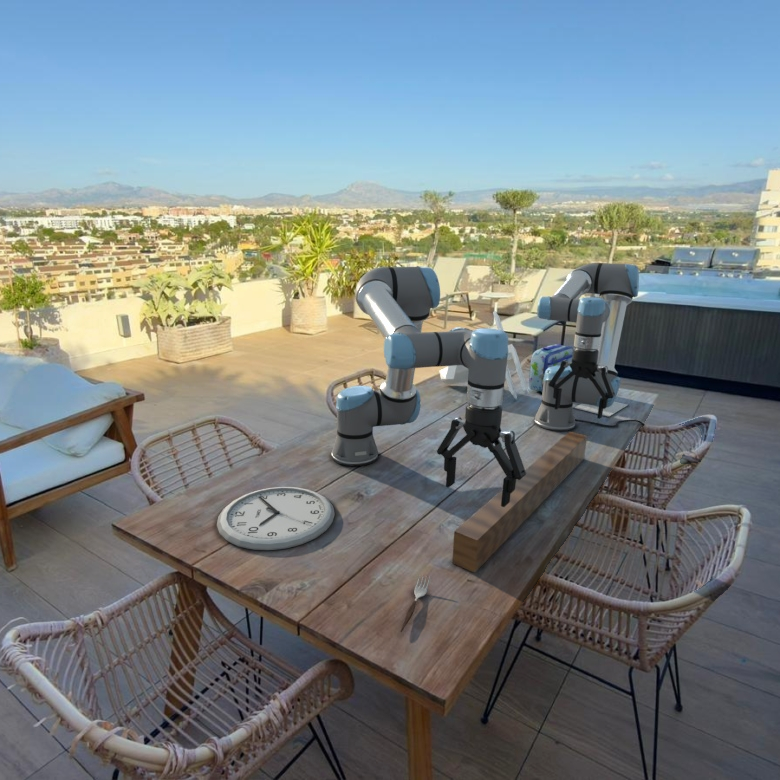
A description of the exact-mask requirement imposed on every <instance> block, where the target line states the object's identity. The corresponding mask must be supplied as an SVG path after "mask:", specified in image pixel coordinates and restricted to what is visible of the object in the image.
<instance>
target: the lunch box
mask: <svg viewBox="0 0 780 780" xmlns="http://www.w3.org/2000/svg"><path fill="white" fill-rule="evenodd" d="M573 349H574V347H572V346H568V345H562V344H551V345H547V346H545V347H541V348H539V349H536V350H534V352H533V353H532V355H531V358H530V359H531V360H530V366H529V377H528V379H529V380H528V387H529V390H531V391H536V392H541V393H542V391H543V382H544V381H543V379H544V375H545V371H546V369H548V368H549V367H553V366H560V365H561V362H562V361H563V360H567V361H569V362H571V361H572V355H573Z"/></svg>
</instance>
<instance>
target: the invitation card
mask: <svg viewBox="0 0 780 780" xmlns="http://www.w3.org/2000/svg"><path fill="white" fill-rule="evenodd" d="M628 406H629V404H627V403H623V402H618V401H614V402H613V404H612V405H611V406H610V407H606V408H605V409H603V414H602V416H604V417H608V418H609V417H611V416H613V415H614V414H616V413H617V412H619V411H621V410H623V409H624V408H626V407H628ZM573 409H575V410H581V411H584V412H587V413H593V414H596V415H598V409H599V407H597V406H593V405H587V404H582V403H579V404H578V405H575V406H574V407H573Z"/></svg>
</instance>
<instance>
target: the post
mask: <svg viewBox="0 0 780 780" xmlns="http://www.w3.org/2000/svg"><path fill="white" fill-rule="evenodd" d="M587 439H588V435H585V434H582V433H578V432H577V433H576V432H573V431H568V432H567V433H566V434H565V435H564V436H563V437H562V438H560V439H559V440H558V441H557V442H556V443H555V444H553V445H551V447H550V448H548V449H547V451H545V452H544V453H543V454H542V455H541V456H540V457H538V458H537V459H536V460H535V461H533V462H532V464H530V465H529V466H528V467H527V468H525V472H526V475H525V476H524V477H523V478H521V479H520V480H518V479H516V485H515V490H514V491H513V492H512V493H511V494H510V502H509V503H508V504H507V505H506V506H505V507H502V506H501V500H502V490H503V489H501V490H500V491H499V492H498V493H496V495H494V496H493V497H492V498H491V499H490V500H488V501H487V502H486V503H485V504H484V505H483V506H481V508H479V509H478V510H477V511H476V512H475V513H473V514H472V515H471V516H470V517H469V518H467V520H465V521H464V522H463V523H462V524H461V525H460V526H458V527H457V528H456V529H455V530H454V531H453V544H452V560H451V563H452V564H453V565H456V566H458V567H460V568H462V569H464V570H467V571H469V572H472V573H474V574H476V572H477V571H479V569H480V568H481V567H482V566H483V565H484V564H485V563H486V562H487V561H488V560H489V559H490V558H491V557H492V556H493V554H495V553H496V552H497V550H499V548H501V546H502V545H503V544H504V543H505V542H506V541H508V539H509V538H510V537H511V536H512V535H513V534H514V533H515V532H516V531H517V530H518V528H520V526H521V525H522V524H523V523H524V522H526V520H527V519H528V518H530V516H531V515H532V514H533V513H534V512H535V511H536V510H537V509H538V508H539V506H541V504H543V502H545V500H546V499H547V498H548V497H550V495H551V494H552V493H553V492H554V491H555V490H556V489H557V488H558V487H559V485H560V484H562V483H563V482H564V480H565V479H566V478H567V477H568V476H569V475H570V474H572V472H573V471H574V470H575V469H576V468H577V467H578V466H579V465H580V464H581V463H582V462H583V461H584V460H585V453H586V447H587Z"/></svg>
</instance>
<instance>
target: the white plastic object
mask: <svg viewBox="0 0 780 780" xmlns="http://www.w3.org/2000/svg"><path fill="white" fill-rule="evenodd" d="M492 315H493V319H494V321H495V324H496V325H495V326H496V328H497V330H501V331H504V328H503V325H502V321H501V318H500V315H499V314H498V312H497V311H496V310H495V311H492ZM510 360H513V363H514V366H515V369H516V372H517V376H518V380H519V382H520V385H521V389H522V391H523V393H524V395H525V396H526V397H528V396H531V395H530V389H529V388H528V387H529V386H528V384H527V381H526V378H525V375H524V371H523V369H522V368H523V367H522V366H521V362H520V359H519V355H518V352H517V349H516V347H515V346H514V345H513V343H511V344H508V356H507V362H508V361H510ZM438 372H439V376H440V381H442V383H443V384H444V385H445V386H449V385H458V384H468V368H466V367H465V366H463V365H455V366H445V367H444V368H442V369H440V370H439V371H438ZM505 381H506V383H507V386H508V390H509V393H510V394H511V395H512V397H513V398H514V399H515V400H517V392H516V391H517V390H516V388H515V385H514V381H513V378H512V375H511V371H510V369H509V365H508V364H507V366H506V375H505Z"/></svg>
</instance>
